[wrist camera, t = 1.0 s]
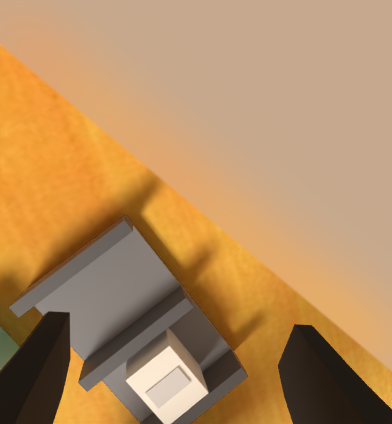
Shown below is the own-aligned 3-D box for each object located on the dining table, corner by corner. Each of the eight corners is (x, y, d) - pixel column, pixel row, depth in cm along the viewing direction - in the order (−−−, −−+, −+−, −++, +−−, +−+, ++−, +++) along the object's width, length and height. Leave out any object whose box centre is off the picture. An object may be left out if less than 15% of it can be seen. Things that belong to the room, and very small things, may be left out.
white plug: (162, 394, 30) (167, 428, 26) (126, 353, 29) (125, 381, 25) (199, 364, 30) (209, 394, 26) (164, 323, 29) (169, 346, 25)
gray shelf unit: (147, 422, 31) (148, 458, 27) (26, 289, 28) (8, 307, 24) (234, 351, 32) (248, 376, 28) (125, 214, 29) (124, 220, 25)
